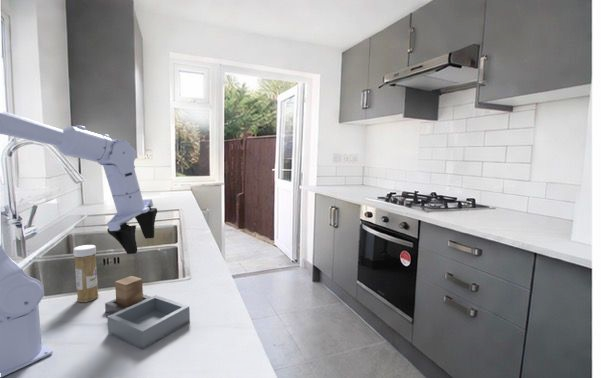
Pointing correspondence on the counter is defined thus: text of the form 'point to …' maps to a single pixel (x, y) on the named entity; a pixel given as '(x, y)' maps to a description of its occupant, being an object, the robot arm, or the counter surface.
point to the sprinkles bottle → (86, 273)
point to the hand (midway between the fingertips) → (141, 245)
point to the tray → (148, 321)
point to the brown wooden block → (128, 291)
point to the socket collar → (114, 308)
